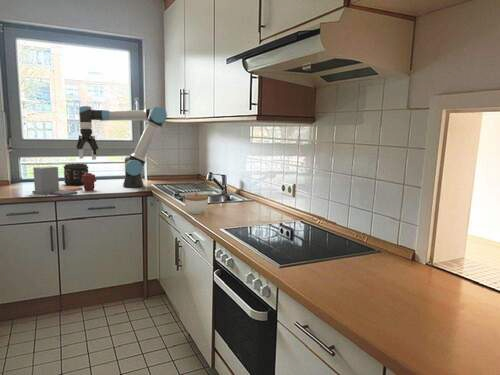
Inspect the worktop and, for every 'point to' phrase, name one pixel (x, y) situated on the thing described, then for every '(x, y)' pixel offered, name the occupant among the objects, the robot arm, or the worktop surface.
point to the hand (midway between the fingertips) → (87, 159)
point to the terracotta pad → (70, 188)
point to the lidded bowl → (196, 203)
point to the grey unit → (46, 180)
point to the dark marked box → (74, 174)
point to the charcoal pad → (64, 193)
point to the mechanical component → (88, 181)
